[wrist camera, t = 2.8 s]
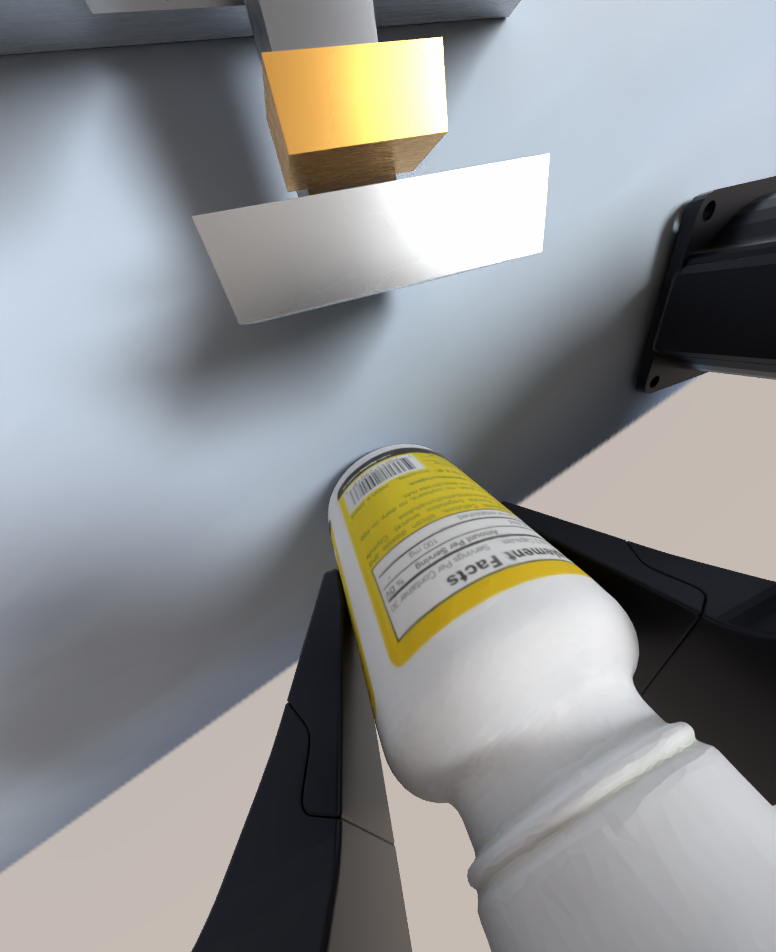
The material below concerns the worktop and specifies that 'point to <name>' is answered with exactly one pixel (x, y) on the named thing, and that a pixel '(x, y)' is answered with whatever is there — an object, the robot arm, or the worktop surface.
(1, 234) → the worktop surface
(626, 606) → the robot arm
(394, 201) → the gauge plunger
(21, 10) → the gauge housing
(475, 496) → the supplement bottle
